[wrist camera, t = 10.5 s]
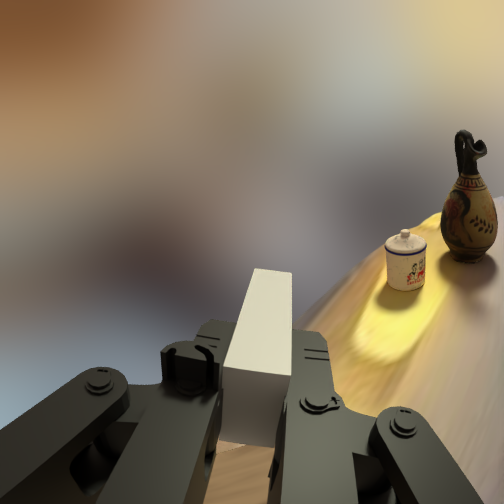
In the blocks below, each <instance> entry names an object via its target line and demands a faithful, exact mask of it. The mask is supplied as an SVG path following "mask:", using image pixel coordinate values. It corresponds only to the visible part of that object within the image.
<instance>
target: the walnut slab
mask: <svg viewBox="0 0 504 504" xmlns="http://www.w3.org/2000/svg"><path fill="white" fill-rule="evenodd" d="M274 450H275V446H274V448H270V447H261V446H253V445H245V446H242V447H239V448H235V449H232V450H229V451H225V452H222V453H218V454H216V457H215V461H214V465H213V469H212V472H211V476H210V480H209V484H208V487H207V491H206V495H205V498H204V502H203V504H267V498H268V489H269V481H270V478H269V477H268V474H269V470H270V467H271V463H272V459H273V456H274Z"/></svg>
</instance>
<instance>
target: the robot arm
mask: <svg viewBox="0 0 504 504" xmlns="http://www.w3.org/2000/svg"><path fill="white" fill-rule="evenodd" d="M160 353H161V367H162V379H163V380H162V382H161V383H159V384H155V385H131V384H128V382H127V380H126V378H125V376H124V375H123V374H122V373H121V372H119V371H118V370H115V369H112V368H109V367H96V368H91V369H88V370H86V371H84V372H82V373H80V374H79V375H77V376H76V377H75V378H73V379H72V380H70V381H69V382H68V383H66V384H65V385H64V386H62V387H60V388H59V389H58V390H56V391H55V392H53V393H52V394H51V395H49V396H48V397H46V398H45V399H44V400H42V401H41V402H39V403H38V404H36V405H35V406H34V407H32V408H31V409H29V410H28V411H26V412H25V413H24V414H23V415H21V416H19V417H18V418H16V419H15V420H14V421H12V422H11V423H9V424H8V425H7V426H5V427H4V428H2V429H1V430H0V504H203V502H204V498H205V495H206V491H207V487H208V484H209V480H210V476H211V472H212V469H213V465H214V461H215V457H216V444H217V441H218V437H219V440H221V441H227V442H233V443H239V444H246V445H253V446H261V447H270V448H274V446H275V450H274V456H273V459H272V463H271V467H270V470H269V474H268V477H269V478H270V481H269V489H268V498H267V504H484V503H483V501H482V500H481V498H480V497H479V495H478V494H477V492H476V491H475V489H474V488H473V486H472V485H471V483H470V482H469V480H468V479H467V478H466V476H465V475H464V473H463V472H462V470H461V469H460V467H459V466H458V464H457V463H456V462H455V460H454V459H453V457H452V456H451V454H450V453H449V452H448V450H447V449H446V447H445V446H444V445H443V443H442V442H441V440H440V439H439V438H438V436H437V435H436V433H435V432H434V431H433V429H432V428H431V426H430V425H429V424H428V422H427V421H426V420H425V419H424V418H423V417H422V416H421V415H420V414H419V413H418V412H416V411H414V410H412V409H410V408H405V407H401V406H400V407H390V408H387V409H385V410H383V411H382V412H381V413H380V414H379V415H378V417H377V418H375V417H371V416H367V415H364V414H360V413H357V412H354V411H352V410H350V409H348V408H347V407H345V404H344V402H343V400H342V398H341V397H340V396H339V395H338V394H337V393H336V392H335V391H334V384H333V377H332V371H331V365H330V361H329V353H328V347H327V341H326V340H325V339H324V338H323V336H322V335H321V334H320V333H319V332H313V331H303V330H294V329H292V273H287V272H279V271H272V270H264V269H255V270H254V273H253V276H252V279H251V282H250V285H249V288H248V291H247V294H246V298H245V301H244V304H243V307H242V310H241V313H240V316H239V319H238V322H237V323H233V322H226V321H219V320H213V319H211V320H209V321H208V322H207V323H205V324H203V325H202V326H201V327H200V329H199V331H198V334H197V336H196V337H195V339H194V341H180V342H175V343H172V344H170V345H167V346H166V347H165V348H164V349H163V350H162V351H161V352H160Z"/></svg>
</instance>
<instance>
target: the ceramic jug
mask: <svg viewBox="0 0 504 504" xmlns="http://www.w3.org/2000/svg"><path fill="white" fill-rule="evenodd" d="M464 143H465V148H463V145H464ZM455 152H456V157H457V166H458V172H459V177H458V179H457V181H456V183H455V184H454V185H453V187H452V189H451V191H450V193H449V194H448V196H447V198H446V201H445V203H444V206H443V210H442V215H441V223H440V226H441V233H442V236H443V239H444V241H445V243H446V244H447V246H448V247H449V249H450V254H451V256H452V258H453V259H454V260H455V261H459V262H464V263H475V262H477V261H480V260H481V259H482V257H483V255H484V254H485V252H486V251H487V250H488V249H489V248H490V247H491V246H492V245H493V243H494V241H495V239H496V235H497V229H498V221H497V213H496V208H495V204H494V201H493V199H492V197H491V195H490V193H489V191H488V188H487V186H486V185H485V183H484V181H483V179H482V178H481V176H480V174H479V172H478V170H477V162H476V160H477V159H479V158H480V157H483V156H485V155H486V154H487V148H486V145H485V144H484V142H483V141H482V140H478V141H477V142H476V143H474V139H473V137H472V134H471V133H470V132H468V131H466V130H460V131H459V132H457V134H456V136H455Z"/></svg>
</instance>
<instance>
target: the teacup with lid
mask: <svg viewBox="0 0 504 504" xmlns="http://www.w3.org/2000/svg"><path fill="white" fill-rule="evenodd" d="M426 247H427V244H426V242H425V240H424V239H423V238H422V237H420V236H418V235H414V234H411V233H410V231H409V230H407V229H404V230H402V231H401V234H398V235H395V236H393V237H391V238H389V239H388V240H387V241H386V243H385V249H386V260H387V282H388V284H389V285H390V286H391V287H392V288H394V289H397V290H401V291H410V290H414V289H417V288H419V287H421V286H422V285H423V284H424V282H425V253H426Z"/></svg>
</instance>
